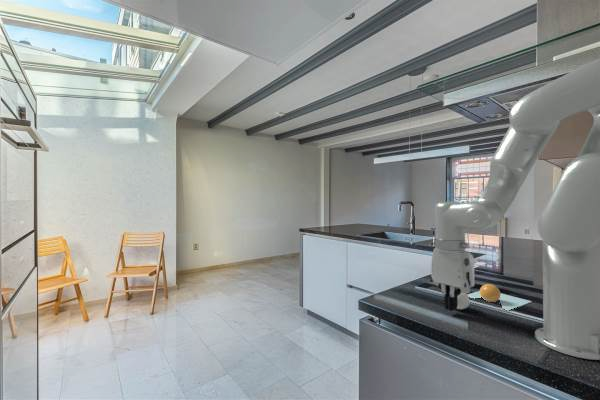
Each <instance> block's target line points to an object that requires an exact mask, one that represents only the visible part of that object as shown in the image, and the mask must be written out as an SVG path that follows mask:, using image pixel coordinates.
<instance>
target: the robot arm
mask: <svg viewBox="0 0 600 400" xmlns="http://www.w3.org/2000/svg"><path fill="white" fill-rule="evenodd" d="M584 112H588V113H590V114H591V116H592V117H593V125H592V127H591V129H590V131H589V132H588V134H587V136H586V139H585V140H584V141H585V142H584V144H583V146H582V147H581V150H580V151H579V152H578V155H577V156H576V158H575V159H573V160H572V161H570V162H569V163H568V164H567V165H566V166H565V168H564V170H563V171H562V172H561V175H560V176H559V178H558V181H557V183H556V185H555V187H554V189H553V191H552V193H551V194H550V197H549V198H548V201H547V203H546V205H545V206H544V209H543V211H542V212H541V214H540V216H539V219H538V222H537V232H538V235H539V236H540V239H541V240H542V296H543V297H542V306H543V307H542V312H543V313H542V315H543V318H542V319H543V320H542V321H543V322H542V323H543V327H539V328H537V329H535V331H534V338H535V339H536V340H537V341H538V342H539V343H541V345H543V346H545V347H547V348H549V349H552V350H554V351H556V352H558V353H562V354H564V355H568V356H570V357H574V358H578V359H585V360H590V361H591V360H593V361H597V360H598V361H600V58H597V59H595V60H592V61H590V62H588V63H585V64H584V65H581V66H579V67H577V68H576V69H573V70H572V71H570V72H568V73H566V74H564V75H562V76H560V77H558V78H556V79H555V80H552V81H550V82H548V83H546V84H544V85H542V86H540V87H538V88H536V89H535V90H533V91H531V92H529V93H527V94H526V95H524V96H523V97H521V98H520V99H518V100H517V101H516V102H515V103H514V104H513V105H512V106H511V108H510V110H509V114H508V119H509V124H510V125H509V127H508V129H507V131H506V133H505V134H504V136H503V137H502V139H501V142H500V144H499V145H498V147H497V148H496V150H495V152H494V153H493V155H492V157H491V159H490V164H489V177H488V181H487V183H486V185H485V187H484V189H483V191H482V193H481V194H480V195H479V198H478V200H476V201H468V202H460V201H440V202H437V203H436V204H435V206H434V233H435V234H434V237H435V238H434V240H435V248H433V251H432V256H431V268H430V272H431V273H430V274H431V279H432V284H433V285H434V286H437V287H438V288H439V289H440V290H441V293H442V295H443V303H444V310H448V311H449V312H451V311H456V310H458V309H457V306H458V304H457V296H459V295H460V294H461V293H466V294H471V288H470V287H469V286H472V284H473V276H472V266H471V260H470V256H469V253H470V252H469V251H467V250H466V249H469V248H470V244H469V243H467V242H466V240H465V239H466V229H467V230H474V231H482V230H483V231H484V230H487V229H489V228H491V227H494V226H496V225H497V224H499V223H500V221H501V220H502V219H503V217H504V215H506V213H507V212H508V209H509V208H510V206H511V205H512V203H513V202H514V200H515V198H516V197H517V194H518V193H519V191H520V190H521V187H522V186H523V185H524V184H525V181H526V179H527V177H528V175H529V173H531V172H530V171H531V170H532V168H533V167H534V165H535V164H536V162H537V160H538V158H539V157H540V156H541V153H543V150H544V149H545V147H546V146H547V144H548V143H549V141H550V139H551V138H552V136H553V135H554V133H555V132H556V130H557V128H558V126H559V125H560V123H561V122H562V121H565V120H568V119H569V118H572V117H574V116H576V115H580V114H581V113H584Z"/></svg>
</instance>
